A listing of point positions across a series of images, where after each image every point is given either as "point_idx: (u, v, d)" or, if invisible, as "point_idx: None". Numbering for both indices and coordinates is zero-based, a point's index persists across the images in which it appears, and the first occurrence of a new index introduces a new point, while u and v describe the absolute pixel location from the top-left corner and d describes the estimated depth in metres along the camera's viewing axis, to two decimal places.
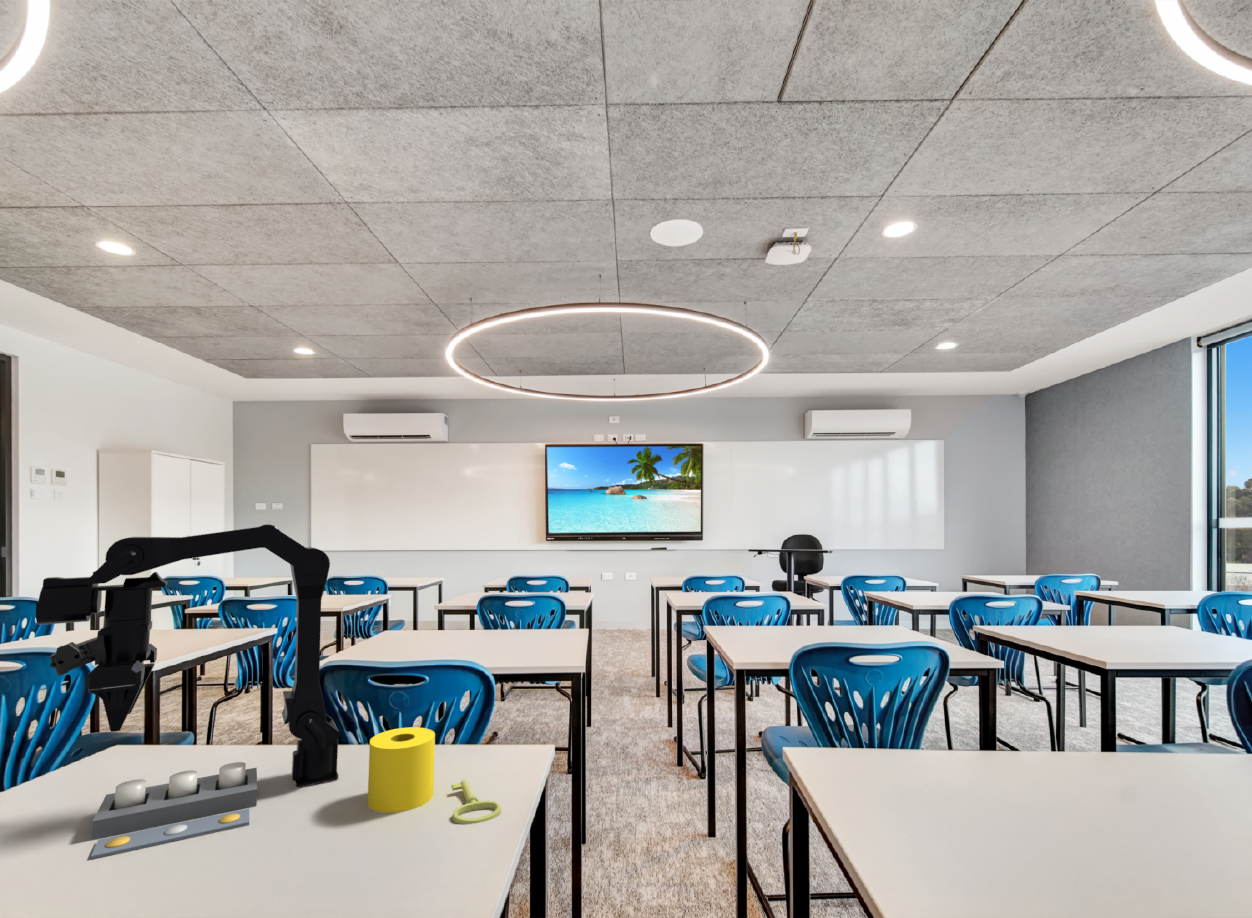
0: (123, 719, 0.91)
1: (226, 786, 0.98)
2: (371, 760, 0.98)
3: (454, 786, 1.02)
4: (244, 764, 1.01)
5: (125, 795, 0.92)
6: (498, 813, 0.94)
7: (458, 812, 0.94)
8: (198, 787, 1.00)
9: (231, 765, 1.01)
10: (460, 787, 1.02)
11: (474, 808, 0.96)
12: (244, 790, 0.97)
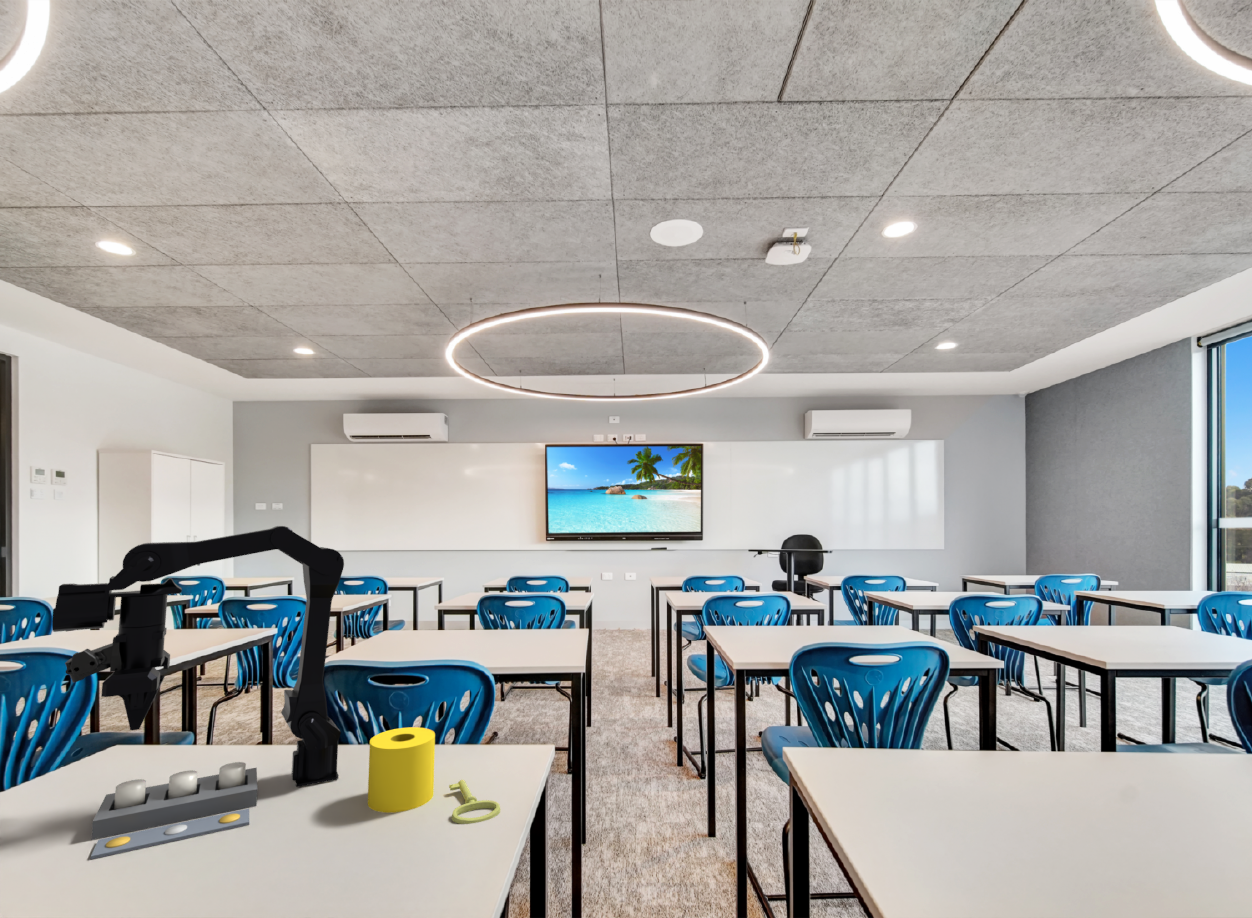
0: (142, 718, 0.94)
1: (226, 786, 0.98)
2: (371, 760, 0.98)
3: (452, 786, 1.02)
4: (244, 764, 1.01)
5: (125, 795, 0.92)
6: (497, 812, 0.95)
7: (457, 811, 0.94)
8: (198, 787, 1.00)
9: (231, 765, 1.01)
10: (458, 787, 1.02)
11: (473, 808, 0.96)
12: (244, 790, 0.97)
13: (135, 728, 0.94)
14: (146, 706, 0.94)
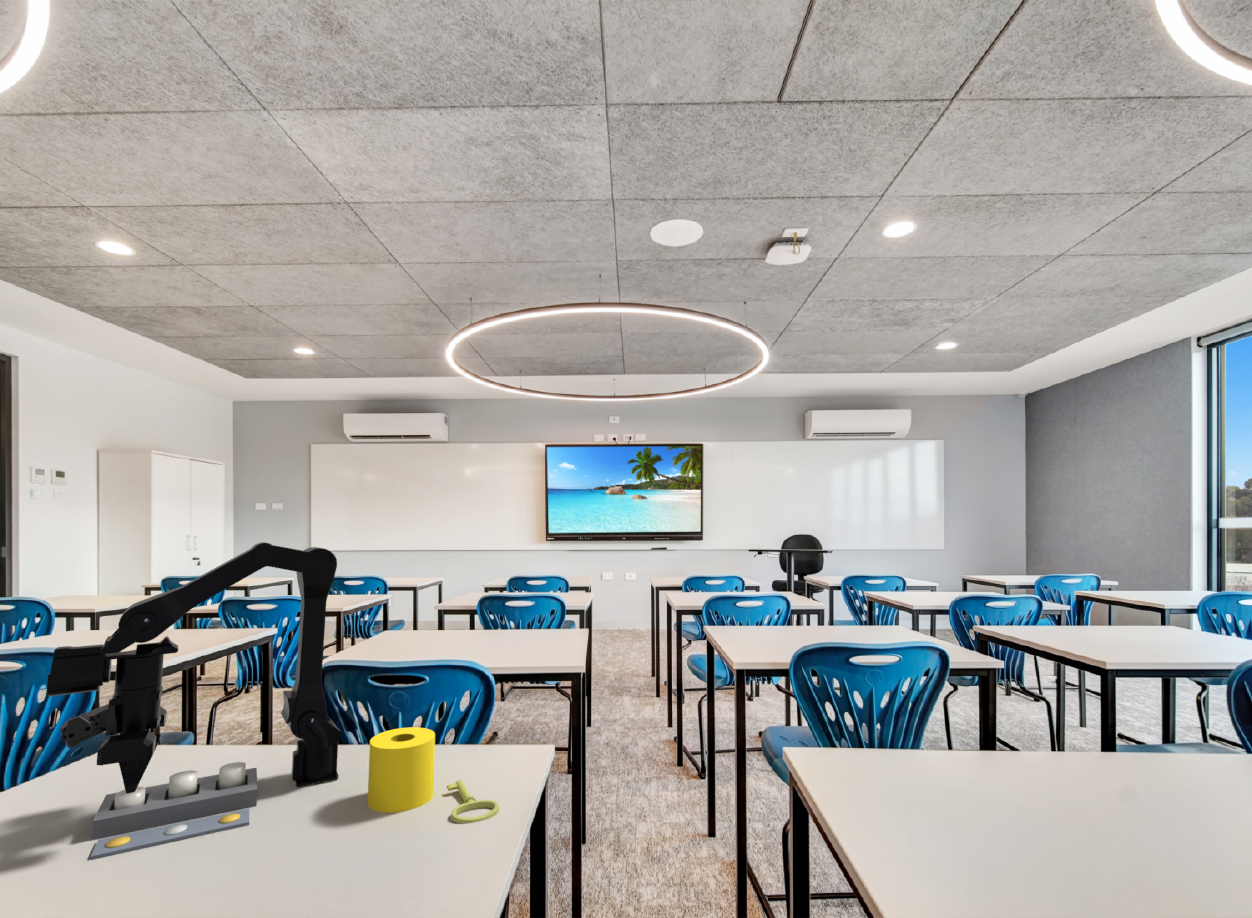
0: (138, 781, 0.94)
1: (226, 786, 0.98)
2: (371, 760, 0.98)
3: (450, 786, 1.02)
4: (244, 764, 1.01)
5: (124, 803, 0.92)
6: (496, 812, 0.95)
7: (456, 811, 0.94)
8: (198, 787, 1.00)
9: (231, 765, 1.01)
10: (456, 787, 1.02)
11: (472, 807, 0.96)
12: (244, 790, 0.97)
13: (131, 791, 0.93)
14: (142, 769, 0.93)
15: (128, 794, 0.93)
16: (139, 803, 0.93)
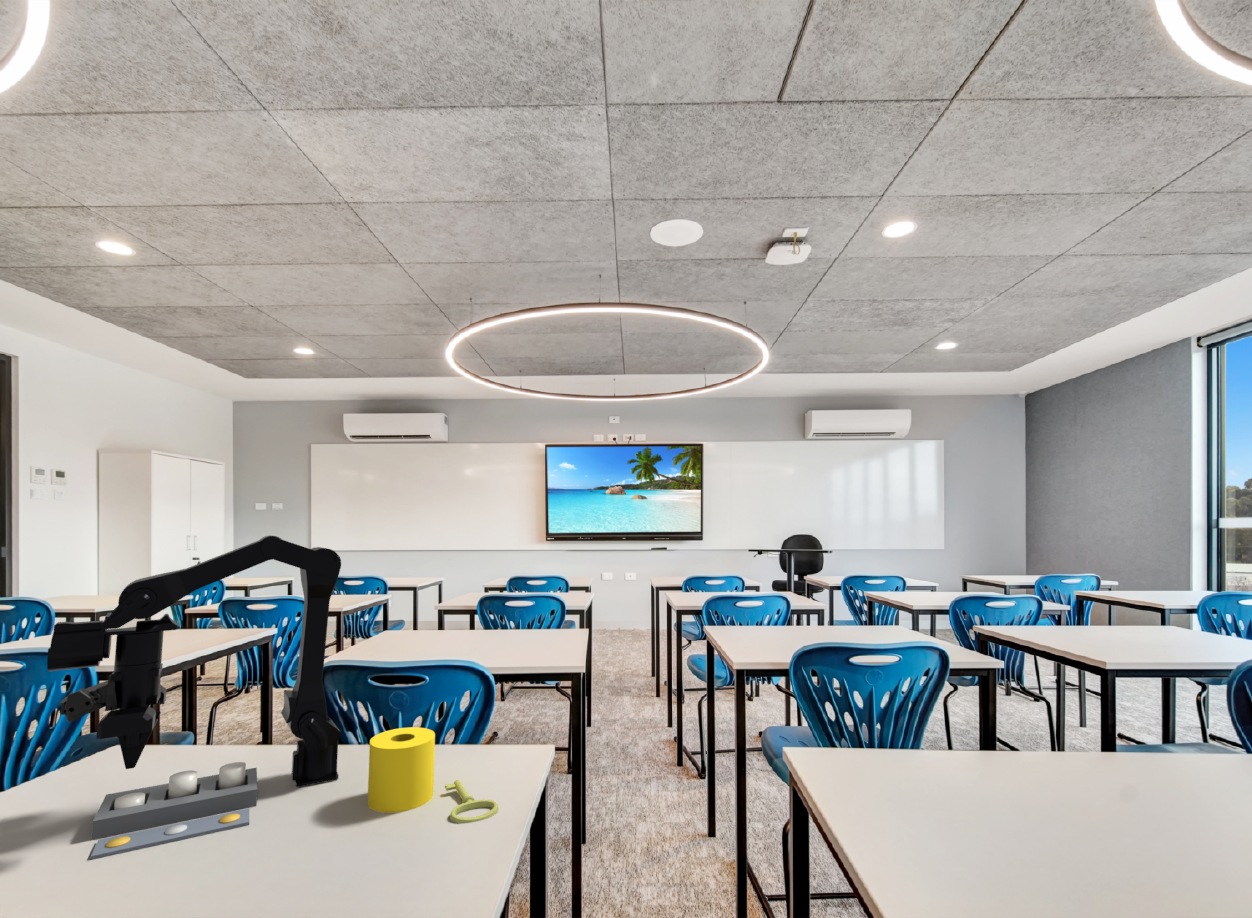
0: (138, 756, 0.94)
1: (226, 786, 0.98)
2: (371, 760, 0.98)
3: (448, 786, 1.01)
4: (244, 764, 1.01)
5: None
6: (496, 811, 0.95)
7: (455, 811, 0.94)
8: (198, 787, 1.00)
9: (231, 765, 1.01)
10: (454, 787, 1.02)
11: (471, 807, 0.96)
12: (244, 790, 0.97)
13: (130, 767, 0.93)
14: (141, 744, 0.94)
15: (128, 800, 0.93)
16: None
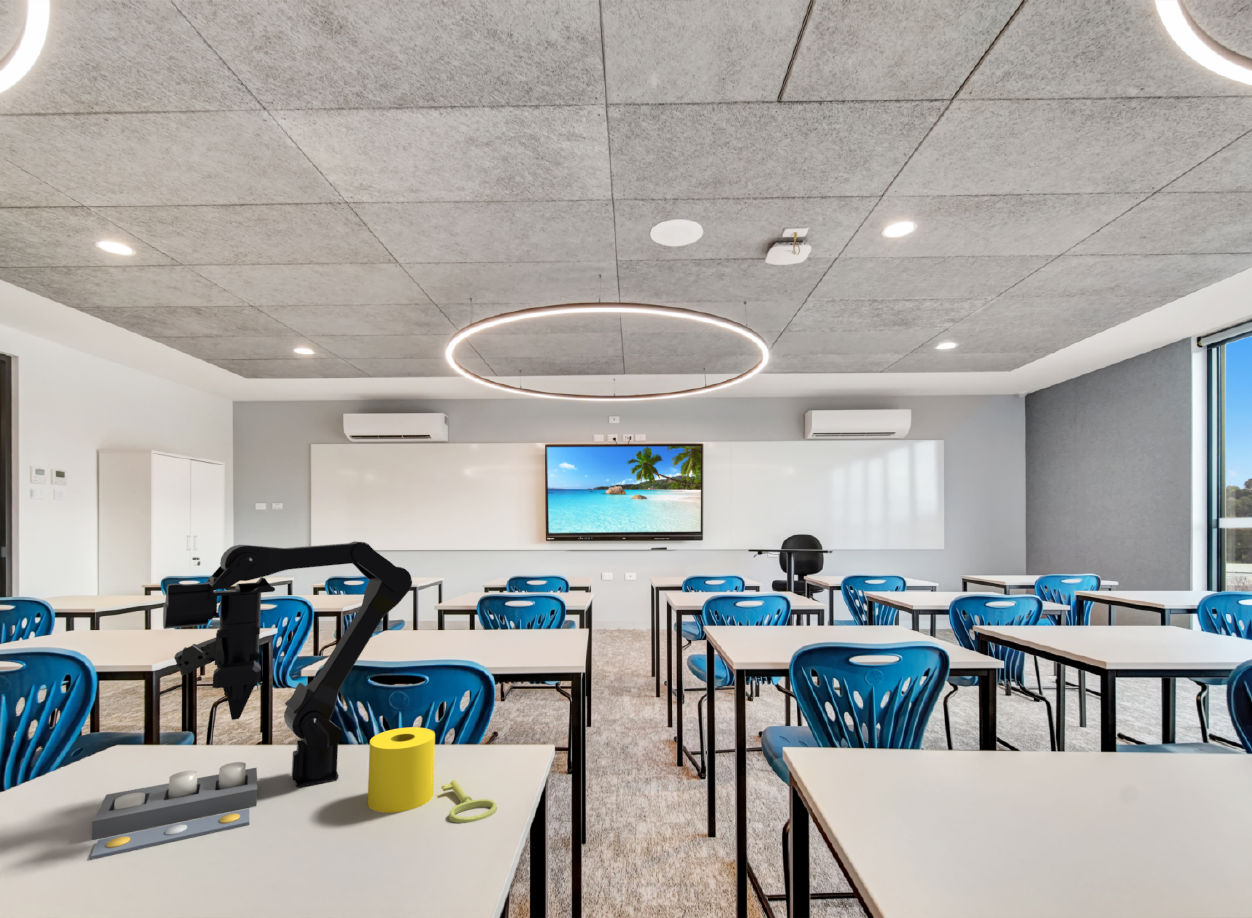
0: (242, 708, 1.01)
1: (226, 786, 0.98)
2: (371, 760, 0.98)
3: (444, 787, 1.01)
4: (244, 764, 1.01)
5: None
6: (495, 810, 0.95)
7: (454, 811, 0.94)
8: (198, 787, 1.00)
9: (231, 765, 1.01)
10: (451, 787, 1.01)
11: (469, 807, 0.96)
12: (244, 790, 0.97)
13: (236, 718, 1.01)
14: (246, 697, 1.01)
15: (128, 800, 0.93)
16: None
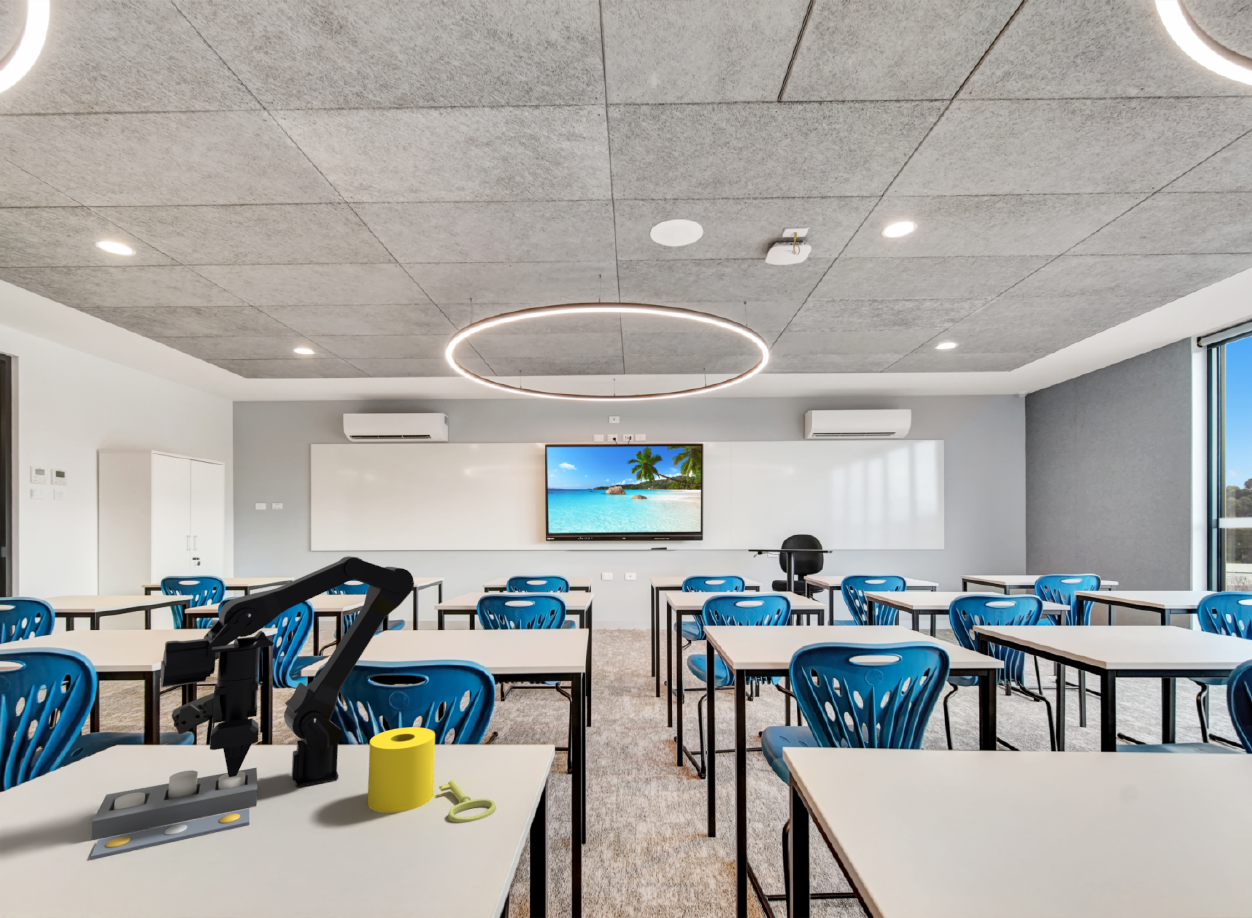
0: (239, 765, 1.00)
1: None
2: (371, 760, 0.98)
3: (442, 787, 1.01)
4: (243, 773, 1.01)
5: None
6: (494, 810, 0.95)
7: (453, 811, 0.94)
8: (198, 787, 1.00)
9: None
10: (448, 787, 1.01)
11: (468, 807, 0.96)
12: (244, 790, 0.97)
13: (233, 775, 1.00)
14: (243, 754, 1.00)
15: (128, 800, 0.93)
16: None
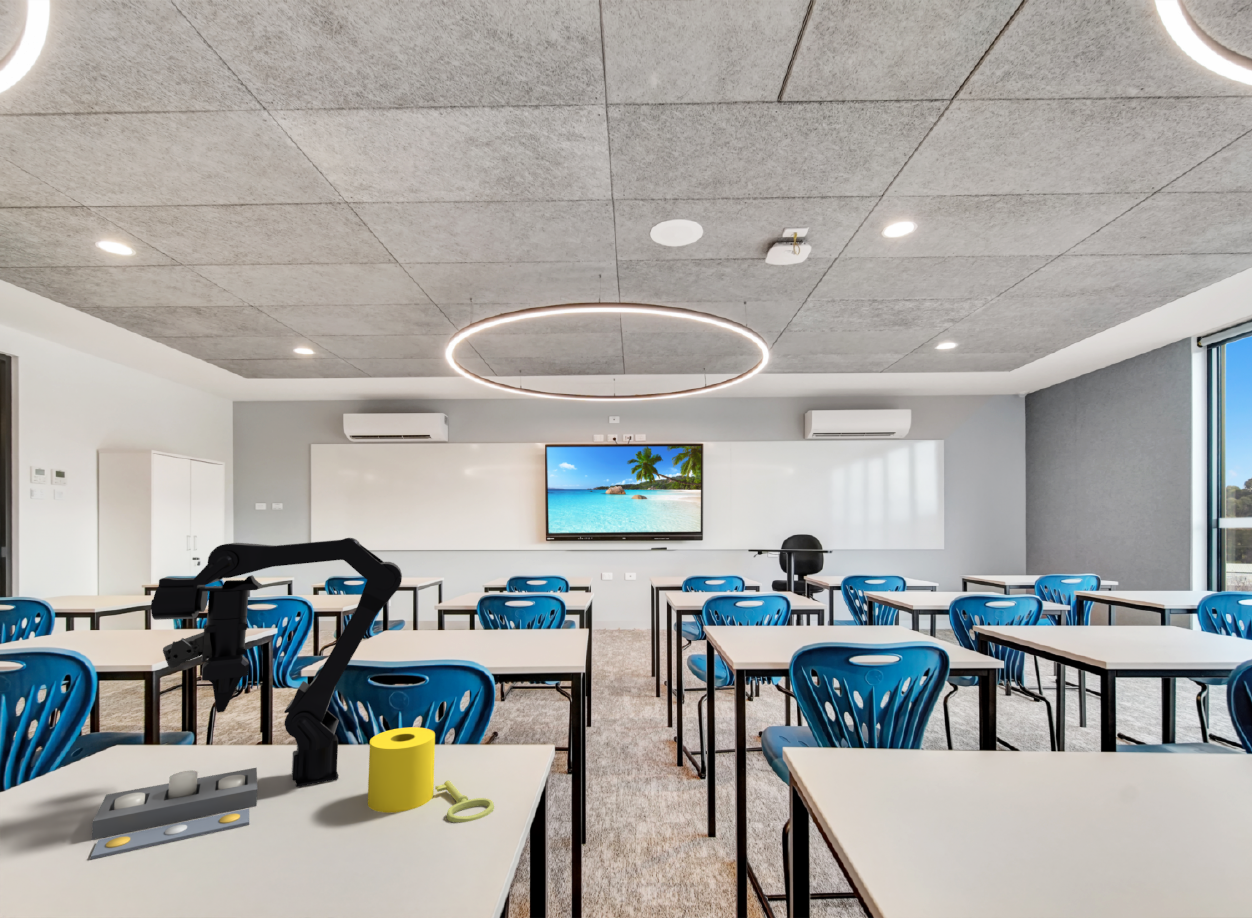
0: (227, 701, 1.04)
1: None
2: (371, 760, 0.98)
3: (439, 787, 1.01)
4: (243, 777, 1.01)
5: None
6: (492, 809, 0.96)
7: (452, 811, 0.94)
8: (198, 787, 1.00)
9: (231, 778, 1.00)
10: (445, 788, 1.01)
11: (466, 806, 0.96)
12: (244, 790, 0.97)
13: (221, 710, 1.04)
14: (231, 690, 1.04)
15: (128, 800, 0.93)
16: None
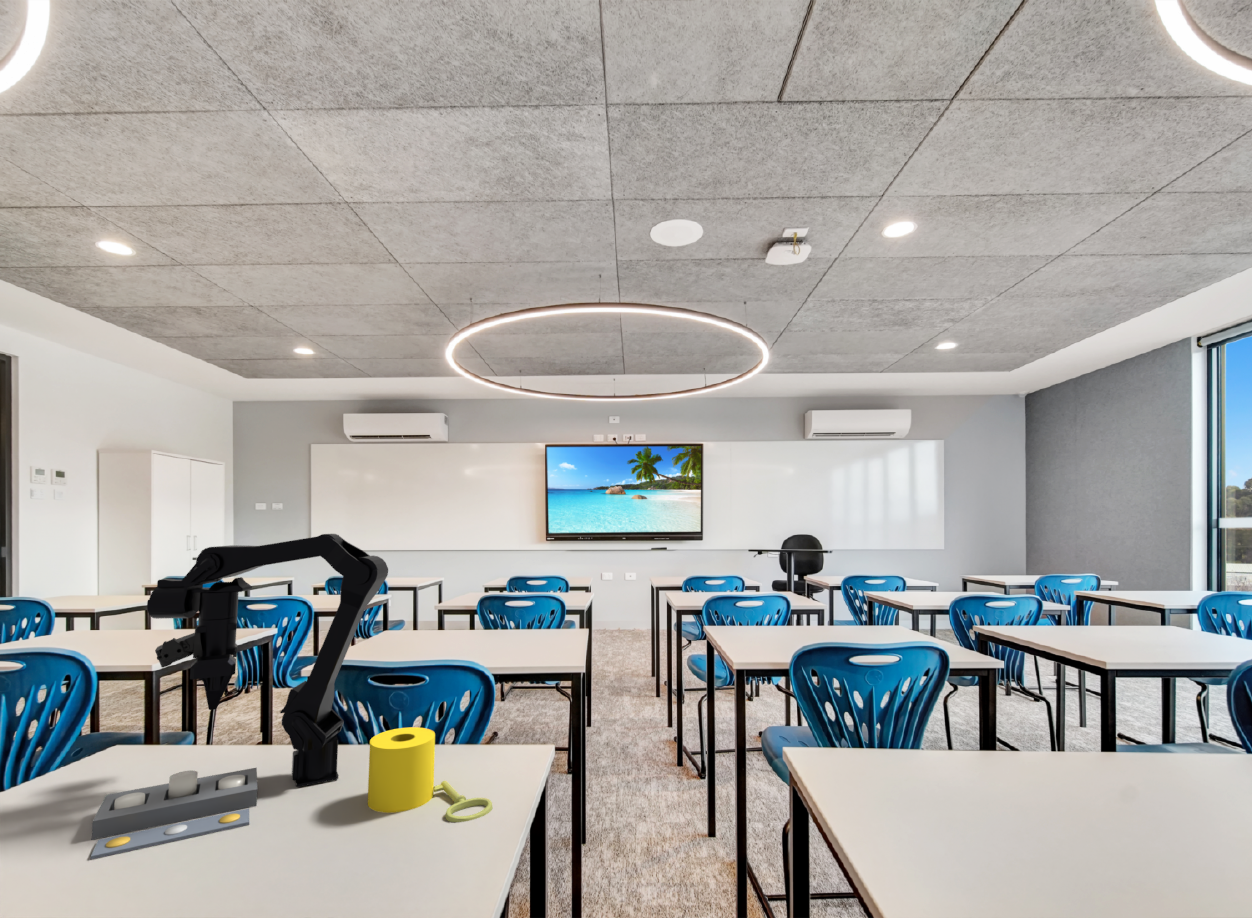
0: (219, 699, 1.08)
1: None
2: (371, 760, 0.98)
3: (436, 788, 1.01)
4: (243, 777, 1.01)
5: None
6: (491, 808, 0.96)
7: (450, 811, 0.94)
8: (198, 787, 1.00)
9: (231, 778, 1.00)
10: (442, 788, 1.01)
11: (464, 806, 0.96)
12: (244, 790, 0.97)
13: (213, 708, 1.07)
14: (222, 689, 1.08)
15: (128, 800, 0.93)
16: None
